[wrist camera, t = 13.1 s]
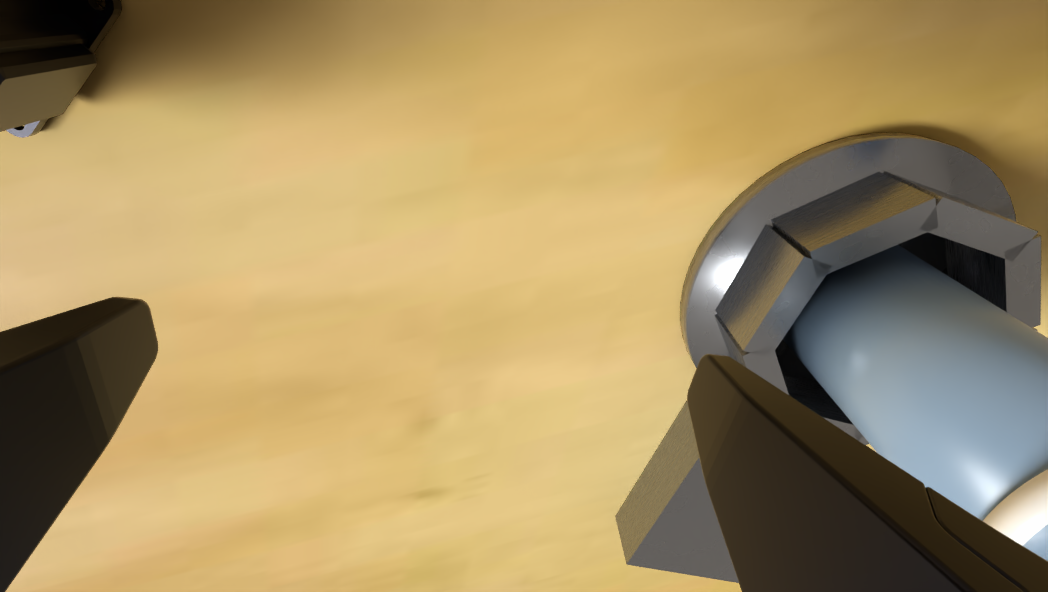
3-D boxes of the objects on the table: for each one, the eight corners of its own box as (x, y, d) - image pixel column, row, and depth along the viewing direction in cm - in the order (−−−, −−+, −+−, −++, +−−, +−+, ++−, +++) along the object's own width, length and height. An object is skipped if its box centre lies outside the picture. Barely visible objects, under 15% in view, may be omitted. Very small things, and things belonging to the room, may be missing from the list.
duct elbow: (749, 352, 24) (941, 623, 14) (805, 223, 21) (1108, 446, 11) (948, 371, 25) (1263, 634, 15) (1029, 251, 22) (1498, 478, 12)
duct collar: (786, 82, 19) (849, 101, 16) (1070, 192, 22) (1177, 229, 19) (559, 506, 30) (568, 572, 27) (768, 544, 33) (800, 609, 30)
